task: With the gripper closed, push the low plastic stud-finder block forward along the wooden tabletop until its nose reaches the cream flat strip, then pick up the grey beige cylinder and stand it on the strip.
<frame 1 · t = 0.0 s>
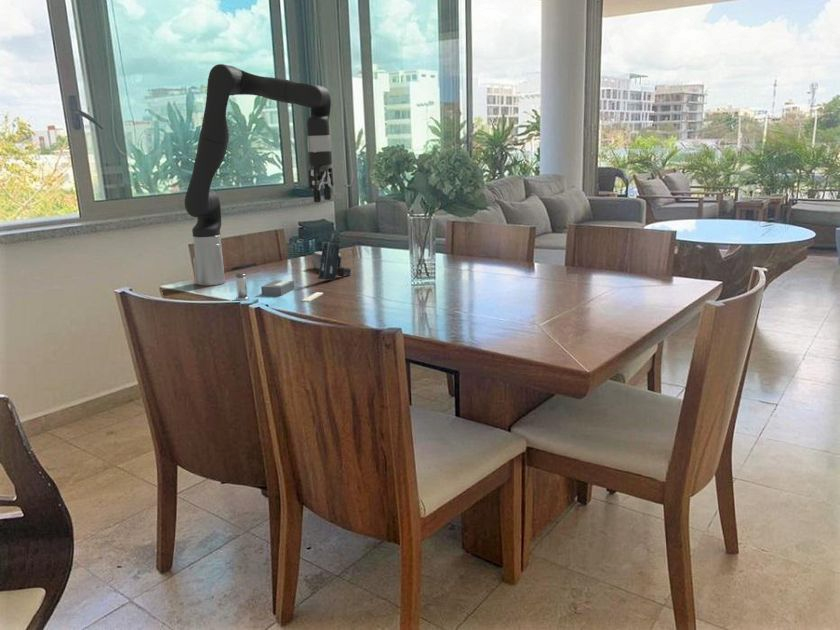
hand: (322, 200, 214), 29 cm above the table, fingers open, 8 cm apart
gun: (335, 279, 235), on the table
grey beige cylinder: (242, 298, 208), on the table
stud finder: (278, 293, 217), on the table
decorative stone: (329, 269, 255), on the table
cream flat strip: (313, 297, 208), on the table
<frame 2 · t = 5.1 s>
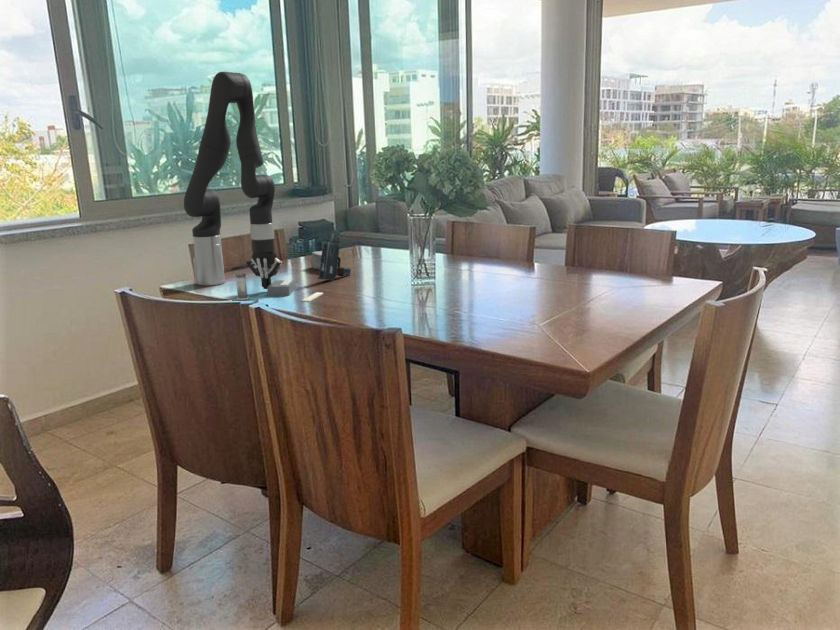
hand: (266, 288, 217), 1 cm above the table, fingers closed
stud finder: (282, 292, 216), on the table
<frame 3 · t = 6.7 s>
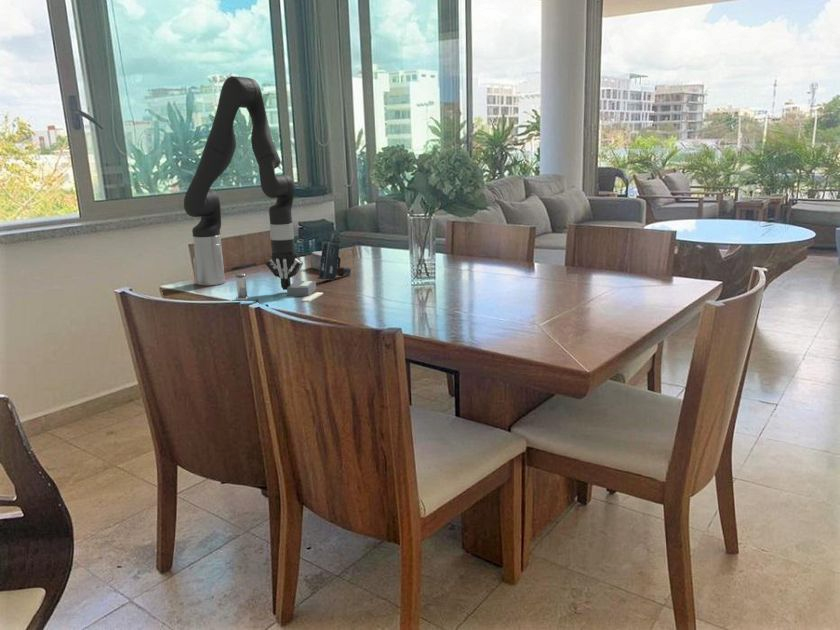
hand: (286, 289, 215), 1 cm above the table, fingers closed
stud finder: (302, 293, 215), on the table
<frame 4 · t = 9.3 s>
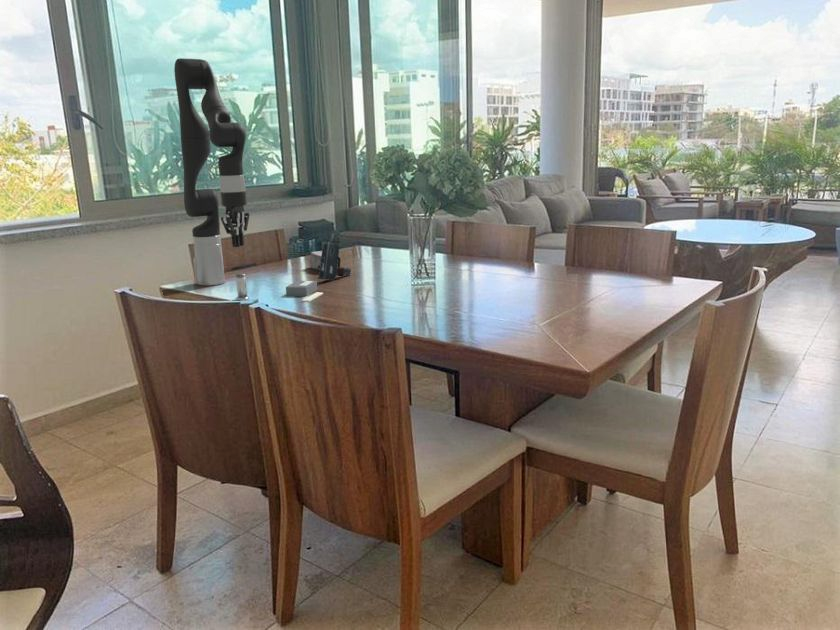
hand: (238, 245, 204), 17 cm above the table, fingers closed
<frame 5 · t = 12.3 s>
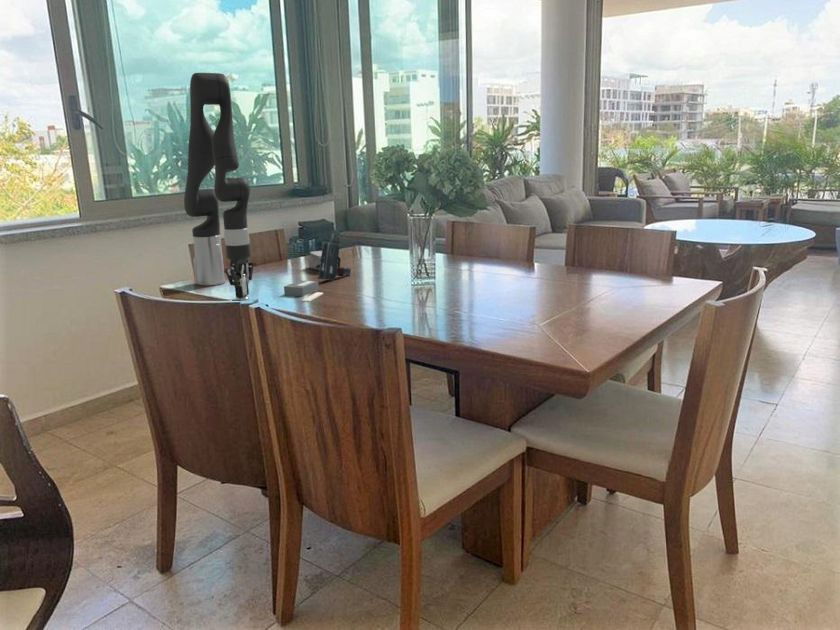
hand: (242, 295, 208), 1 cm above the table, fingers closed on grey beige cylinder, 3 cm apart
grey beige cylinder: (242, 298, 208), on the table, touching gripper
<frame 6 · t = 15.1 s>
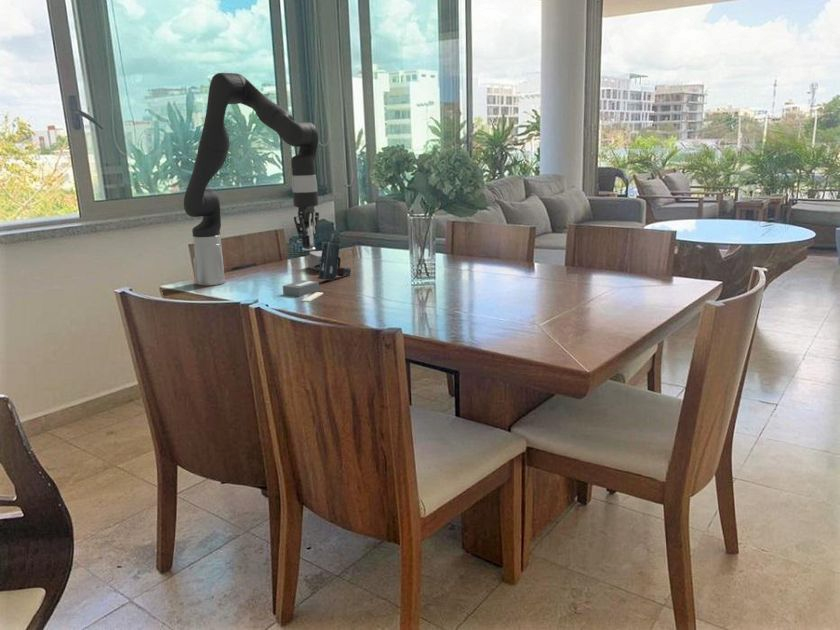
hand: (308, 246, 202), 17 cm above the table, fingers closed on grey beige cylinder, 3 cm apart
grey beige cylinder: (309, 249, 202), point 16 cm above the table, touching gripper
when the fingers open (2 cm above the table, at t = 18.0 s): grey beige cylinder stays where it is, resting on cream flat strip.
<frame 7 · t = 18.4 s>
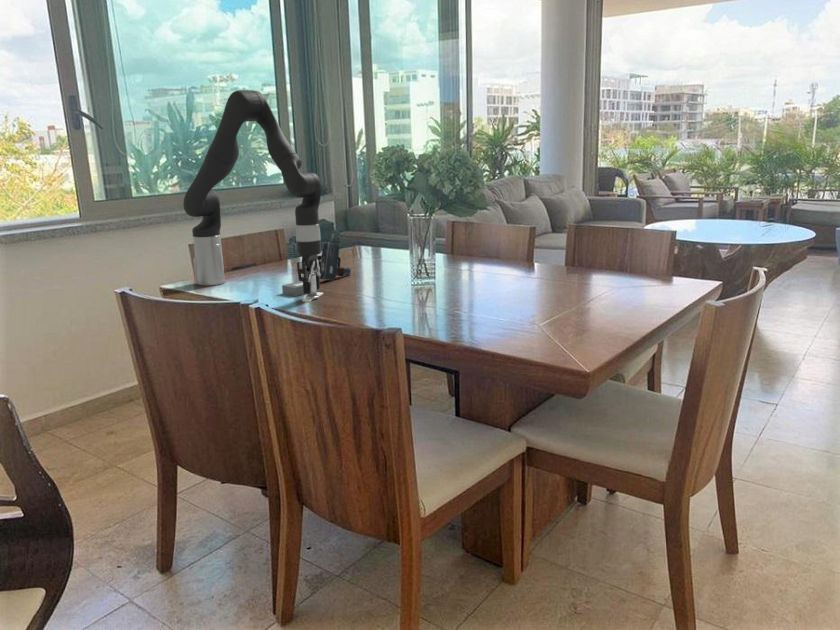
hand: (312, 291, 205), 2 cm above the table, fingers open, 6 cm apart
grey beige cylinder: (312, 297, 206), resting on cream flat strip
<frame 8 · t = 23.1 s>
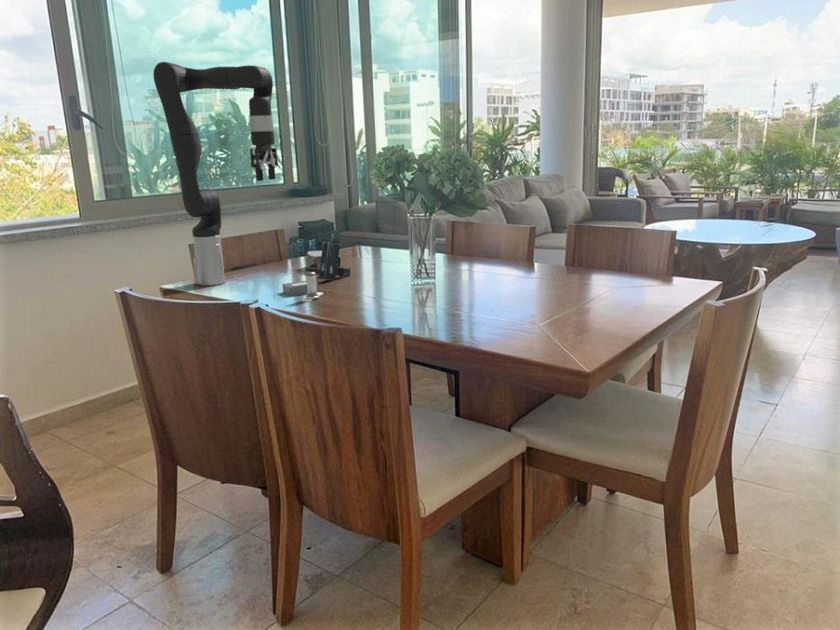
hand: (266, 180, 219), 36 cm above the table, fingers open, 8 cm apart
at the end: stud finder inside the target area (1.8 cm from its centre), on the table; grey beige cylinder inside the target area (0.3 cm from its centre), on the table; grey beige cylinder tilted 0° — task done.
